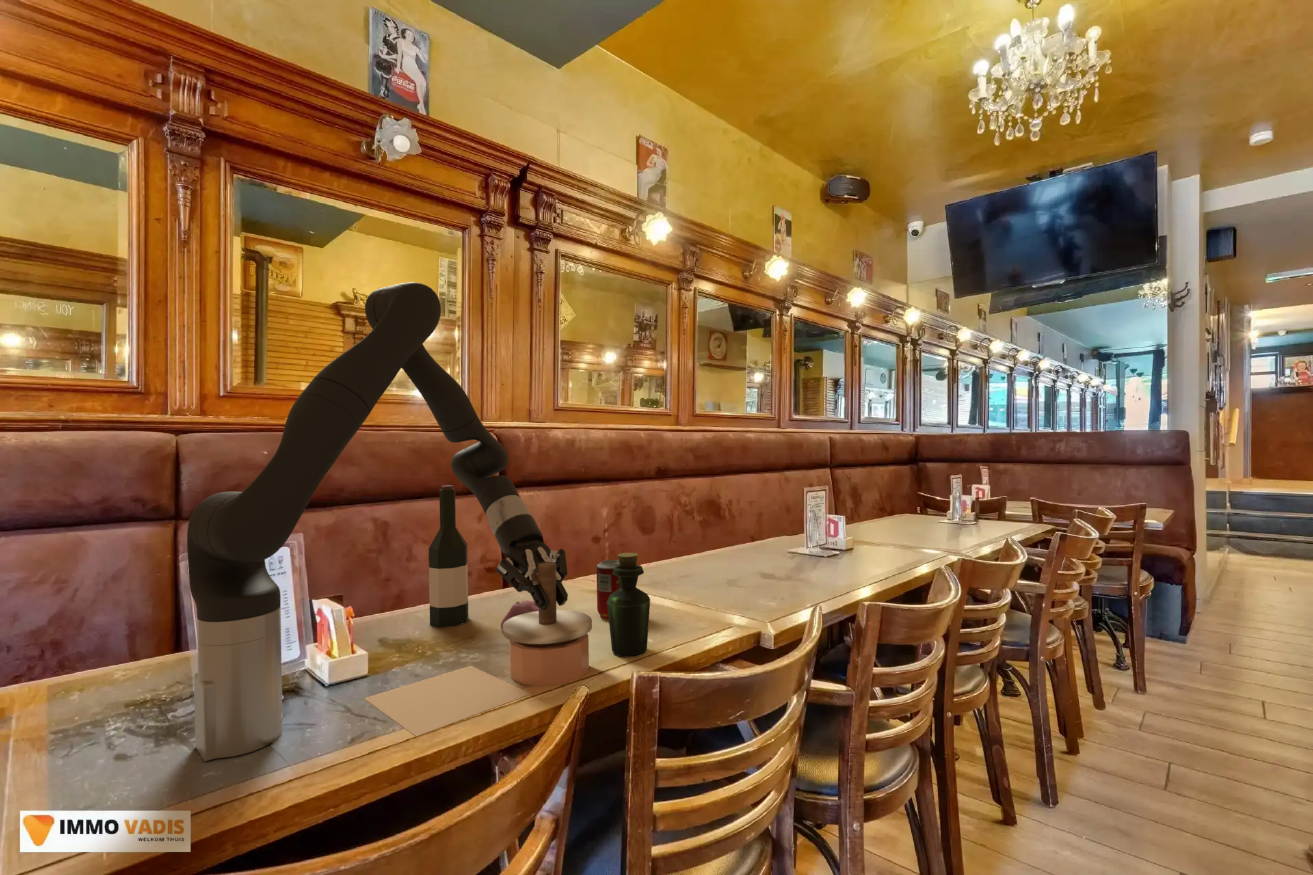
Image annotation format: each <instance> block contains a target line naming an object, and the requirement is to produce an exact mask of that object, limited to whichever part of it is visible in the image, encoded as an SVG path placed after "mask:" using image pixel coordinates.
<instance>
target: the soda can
mask: <svg viewBox="0 0 1313 875" xmlns="http://www.w3.org/2000/svg"><path fill="white" fill-rule="evenodd" d="M618 565H620V564H619V559H609V560H608V559H607V560H602V561H600V562H599V563H598V564H597V565H596V567H595V568H596V569H595V570H596V611H597V612H598V615H599V617H600V619H601V620H604V621H609V617H608V608H607V600H608V598H609V596H610V595H611V594H612V593H614V592H615V591H617V590H618V589H620V588H621V586H620V582H619V579H618V576H615V575H613V570H614V567H615V566H618Z"/></svg>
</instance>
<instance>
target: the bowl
mask: <svg viewBox="0 0 1313 875" xmlns="http://www.w3.org/2000/svg"><path fill="white" fill-rule="evenodd" d="M508 640H509V639H508ZM508 642H509V646H508V648H509V675H510V680H512V681H516V682H517V683H520V684H522V685H528V686H540V687H545V686H551V685H561V684H566V683H569V682H571V681H575V680H576V679H580V678H581V677H583V676H584V675H585V674H586V673H587V672H588V670H590V650H589V648H590V646H589V645H590V644H589V633H587V634H585V635H584V636H581V637H579V638H576V639H572V640H568V641H564V642H558V643H548V644H527V643H519V642H514V641H511V640H509V641H508Z"/></svg>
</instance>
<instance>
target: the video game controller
mask: <svg viewBox="0 0 1313 875" xmlns="http://www.w3.org/2000/svg"><path fill="white" fill-rule="evenodd" d="M536 611H539V608H538V607H537V606H536V604H535V602H534V600H524V601H516V602H515V603H514V604H513V605H512V606H511V607H510V609H509V611H507V613H506V615H505V616H504V617H503V618H502V621H501V623H500V629H501V630H502V631H503V623H504V622H505V621H507V620H508V619H510V618H512V617H515V616H518V615H521V614H525V613H530V612H536Z"/></svg>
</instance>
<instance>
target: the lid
mask: <svg viewBox="0 0 1313 875" xmlns="http://www.w3.org/2000/svg"><path fill="white" fill-rule="evenodd" d="M537 578H538V581H539V584H538V585H541V586H542V588H543V590H544V591H545V593H546V595H547V597H548V599H549V601H550V604H549V606H548V607H547V609H545V610H541V609H540V608H539V611H536V612H530V613H525V614H521V615H518V616H515V617H512V618H510V619H508V620H507V621H505V622H504V623H503V630H502V636H503V637H504V638H505V639H506V640H511V641H514V642H519V643H527V644H548V643H558V642H564V641H568V640H572V639H576V638H579V637H581V636H584V635H585V634H589V633H590V632H591V631H592V628H593V619H592V617H591V616H590V615H589V614H587V613H584V612H582V611H576V610H568V609H567V610H566V609H557V601H556V563H555V562H542V563H538V573H537Z"/></svg>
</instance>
